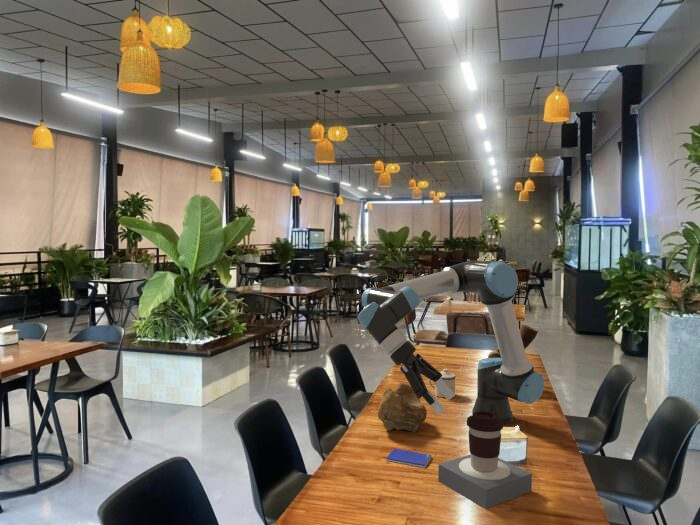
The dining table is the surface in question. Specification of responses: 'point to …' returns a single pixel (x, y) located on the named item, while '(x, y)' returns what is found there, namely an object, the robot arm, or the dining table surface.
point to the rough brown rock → (401, 409)
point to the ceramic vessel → (527, 337)
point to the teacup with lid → (448, 379)
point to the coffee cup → (484, 440)
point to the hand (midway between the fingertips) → (447, 404)
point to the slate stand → (485, 481)
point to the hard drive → (409, 457)
